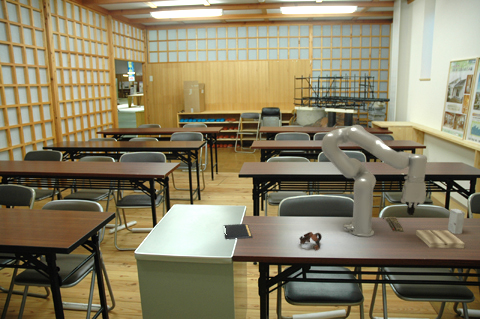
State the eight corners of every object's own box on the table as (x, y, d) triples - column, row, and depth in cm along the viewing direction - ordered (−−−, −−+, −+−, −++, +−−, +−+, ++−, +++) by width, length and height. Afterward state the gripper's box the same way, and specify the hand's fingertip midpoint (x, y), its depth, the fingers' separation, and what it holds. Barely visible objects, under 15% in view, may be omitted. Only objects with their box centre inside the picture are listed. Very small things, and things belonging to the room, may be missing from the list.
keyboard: (406, 233, 191) (406, 230, 190) (388, 232, 192) (388, 229, 192) (396, 219, 212) (397, 216, 211) (381, 218, 213) (381, 215, 213)
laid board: (445, 247, 172) (445, 242, 171) (429, 234, 187) (430, 230, 187) (464, 248, 171) (464, 243, 170) (447, 234, 187) (447, 230, 186)
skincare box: (447, 229, 193) (449, 208, 191) (455, 229, 193) (457, 208, 191) (454, 234, 187) (456, 212, 185) (462, 234, 187) (465, 212, 185)
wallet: (222, 223, 204) (248, 222, 205) (222, 226, 205) (248, 225, 206) (224, 237, 185) (252, 236, 186) (224, 240, 185) (252, 239, 186)
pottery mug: (313, 254, 168) (305, 238, 169) (301, 255, 176) (294, 240, 177) (329, 241, 175) (321, 226, 175) (317, 243, 183) (309, 229, 183)
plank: (430, 247, 172) (430, 243, 172) (416, 234, 188) (416, 230, 187) (447, 247, 171) (447, 243, 171) (431, 234, 187) (432, 230, 187)
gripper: (402, 180, 171) (397, 216, 175) (434, 182, 170) (428, 217, 174) (397, 176, 178) (392, 210, 182) (427, 178, 177) (422, 212, 181)
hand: (410, 214), depth 178 cm, fingers closed
